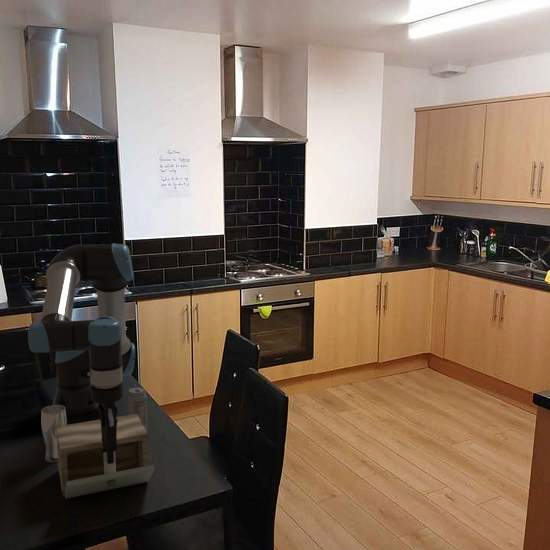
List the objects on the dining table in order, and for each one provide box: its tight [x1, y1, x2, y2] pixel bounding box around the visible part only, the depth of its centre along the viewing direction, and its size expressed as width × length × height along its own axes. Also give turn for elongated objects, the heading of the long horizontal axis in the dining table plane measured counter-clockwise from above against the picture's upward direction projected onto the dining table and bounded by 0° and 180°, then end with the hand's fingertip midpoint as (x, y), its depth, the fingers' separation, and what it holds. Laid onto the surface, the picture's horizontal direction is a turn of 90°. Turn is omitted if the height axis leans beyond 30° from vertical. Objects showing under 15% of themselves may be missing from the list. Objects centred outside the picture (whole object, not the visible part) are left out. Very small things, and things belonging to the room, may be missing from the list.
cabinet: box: [56, 414, 149, 497], centre depth 158 cm, size 14×22×14 cm, turn 114°
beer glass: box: [40, 404, 68, 464], centre depth 168 cm, size 7×7×15 cm
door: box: [64, 464, 156, 499], centre depth 146 cm, size 2×21×12 cm
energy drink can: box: [126, 386, 148, 433], centre depth 184 cm, size 6×6×15 cm
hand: (110, 473), depth 144 cm, fingers closed
